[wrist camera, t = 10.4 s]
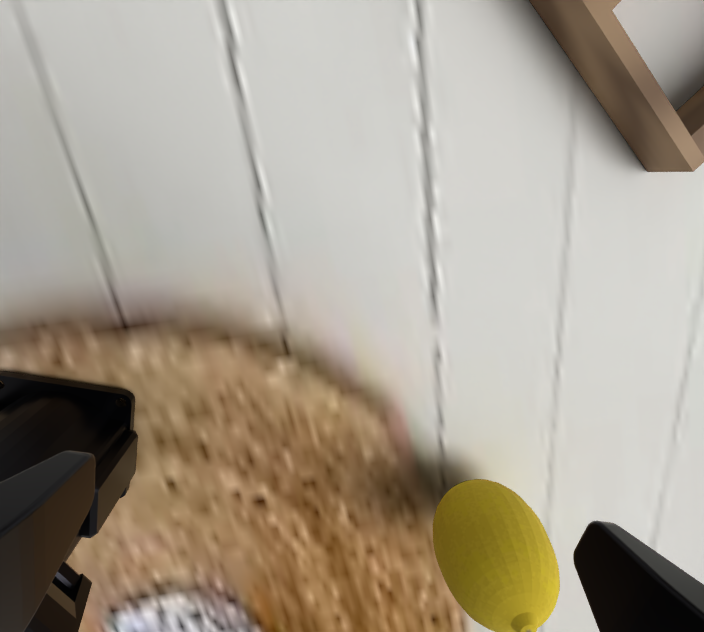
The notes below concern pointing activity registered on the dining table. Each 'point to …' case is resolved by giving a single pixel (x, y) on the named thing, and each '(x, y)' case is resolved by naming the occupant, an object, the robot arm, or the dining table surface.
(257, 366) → the dining table surface
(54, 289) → the dining table surface
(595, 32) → the wooden compartment tray
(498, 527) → the lemon
